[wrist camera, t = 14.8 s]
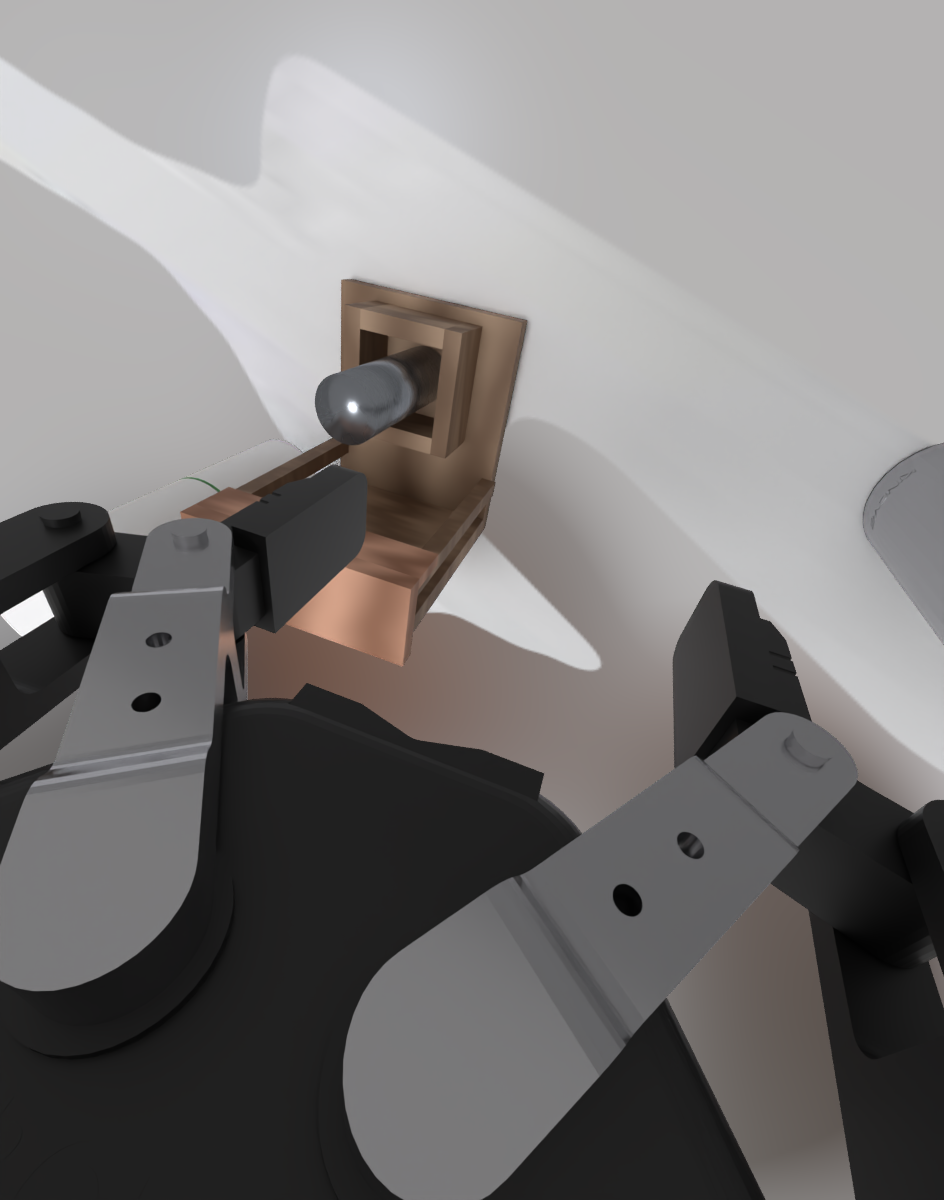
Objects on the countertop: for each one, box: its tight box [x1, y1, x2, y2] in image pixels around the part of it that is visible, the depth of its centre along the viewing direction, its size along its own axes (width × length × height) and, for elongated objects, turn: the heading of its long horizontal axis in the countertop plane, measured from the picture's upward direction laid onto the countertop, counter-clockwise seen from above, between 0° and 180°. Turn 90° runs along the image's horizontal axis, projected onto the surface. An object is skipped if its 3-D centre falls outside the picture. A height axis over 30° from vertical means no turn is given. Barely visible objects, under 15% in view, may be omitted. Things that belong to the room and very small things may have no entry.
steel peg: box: [315, 346, 441, 445], centre depth 34 cm, size 4×4×12 cm
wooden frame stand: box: [180, 279, 527, 666], centre depth 34 cm, size 15×18×19 cm
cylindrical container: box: [1, 439, 315, 636], centre depth 40 cm, size 7×7×25 cm
